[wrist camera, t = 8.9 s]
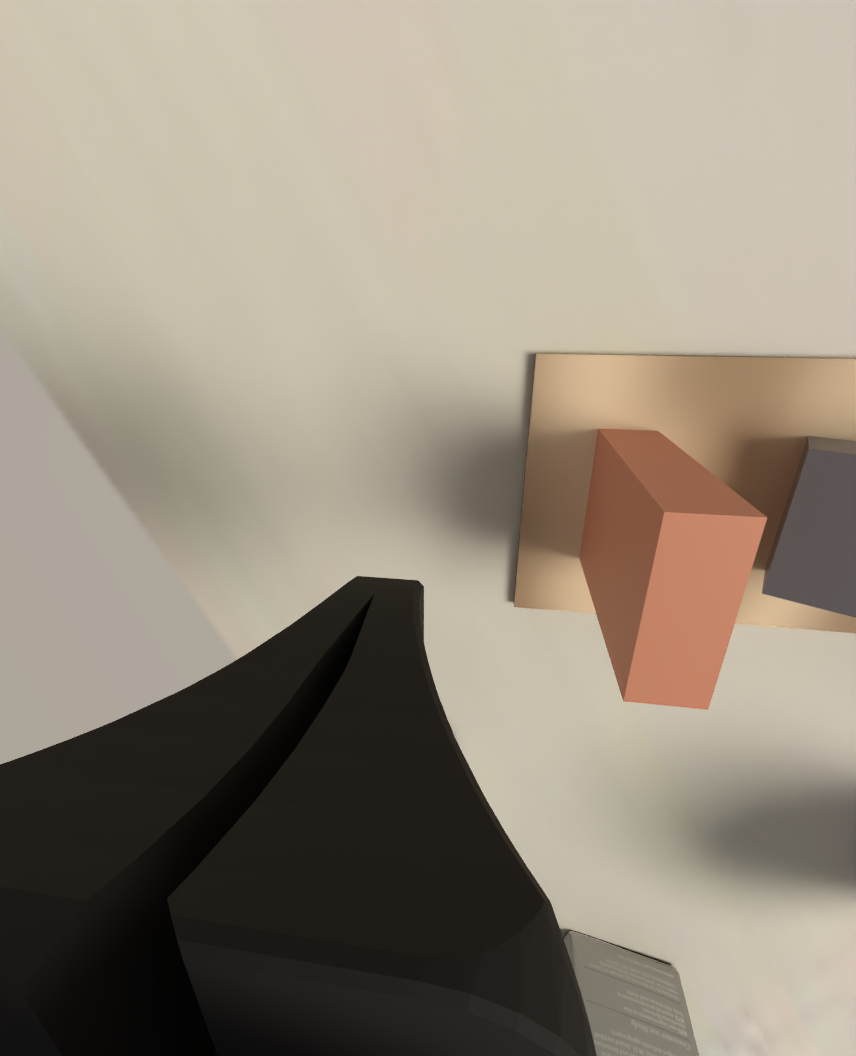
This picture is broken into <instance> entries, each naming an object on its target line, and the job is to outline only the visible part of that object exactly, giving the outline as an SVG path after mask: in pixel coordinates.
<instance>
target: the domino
mask: <svg viewBox="0 0 856 1056" xmlns="http://www.w3.org/2000/svg"><path fill="white" fill-rule="evenodd" d="M762 594H765V595H769V596H773V597H777V598H781V599H785V600H789V601H793V602H796V603H800V604H804V605H808V606H812V607H816V608H820V609H823V610H827V611H831V612H835V613H839V614H843V615H847V616H851V617H854V618H856V441H849V440H840V439H831V438H822V437H814V436H808V438H807V441H806V444H805V447H804V450H803V453H802V456H801V459H800V463H799V466H798V469H797V472H796V475H795V478H794V481H793V484H792V487H791V491H790V494H789V497H788V500H787V503H786V506H785V509H784V512H783V515H782V518H781V522H780V525H779V528H778V531H777V534H776V537H775V540H774V543H773V546H772V550H771V553H770V556H769V559H768V562H767V565H766V568H765V572H764V580H763V588H762Z"/></svg>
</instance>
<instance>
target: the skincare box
mask: <svg viewBox="0 0 856 1056" xmlns="http://www.w3.org/2000/svg"><path fill="white" fill-rule="evenodd" d="M563 940H564V942H565V945H566V948H567V951H568V954H569V957H570V960H571V963H572V966H573V969H574V972H575V975H576V978H577V981H578V985H579V988H580V991H581V994H582V998H583V1001H584V1005H585V1009H586V1012H587V1016H588V1019H589V1023H590V1028H591V1032H592V1036H593V1040H594V1045H595V1050H596V1055H597V1056H699V1053H698V1049H697V1045H696V1041H695V1037H694V1033H693V1029H692V1025H691V1021H690V1017H689V1013H688V1009H687V1005H686V1000H685V996H684V993H683V989H682V985H681V981H680V977H679V973H678V972H677V970H676V968H675V967H673V966H670V965H667V964H664V963H661V962H659V961H656V960H653V959H650V958H648V957H645V956H642V955H639V954H636V953H633V952H630V951H628V950H625V949H622V948H620V947H617V946H615V945H612V944H609V943H606V942H604V941H601V940H598V939H596V938H593V937H590V936H587V935H584V934H580V933H577V932H574V931H569V932H568V933H567V935H566V936H565V937H564V939H563Z"/></svg>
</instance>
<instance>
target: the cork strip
mask: <svg viewBox="0 0 856 1056" xmlns="http://www.w3.org/2000/svg"><path fill="white" fill-rule="evenodd" d="M598 429H620V430H648V431H659V432H660V433H662V434H663V435H664V436H665V437H667V438H668V439H669V440H670V441H672V442H673V443H674V444H675V445H677V446H678V447H679V448H680V449H682V450H683V451H684V452H685V453H687V454H688V455H689V456H691V457H692V458H693V459H694V460H696V461H697V462H698V463H699V464H701V465H702V466H703V467H704V468H706V469H707V470H708V471H709V472H711V473H712V474H713V475H714V476H716V477H717V478H718V479H720V480H721V481H722V482H723V483H725V484H726V485H727V486H728V487H730V488H731V489H732V490H733V491H735V492H736V493H737V494H738V495H740V496H741V497H742V498H743V499H745V500H746V501H747V502H748V503H750V504H751V505H752V506H754V507H755V508H756V509H757V510H759V511H760V512H761V513H762V514H764V515H765V516H766V517H767V521H766V524H765V527H764V530H763V534H762V537H761V540H760V543H759V546H758V550H757V553H756V556H755V559H754V563H753V566H752V569H751V572H750V576H749V579H748V582H747V585H746V588H745V592H744V595H743V598H742V601H741V605H740V608H739V611H738V614H737V618H736V621H735V624H743V625H756V626H769V627H782V628H795V629H808V630H821V631H834V632H847V633H856V618H854V617H851V616H847V615H843V614H839V613H835V612H831V611H827V610H823V609H820V608H816V607H812V606H808V605H804V604H800V603H796V602H793V601H789V600H785V599H781V598H777V597H773V596H769V595H765V594H762V588H763V580H764V572H765V568H766V565H767V562H768V559H769V556H770V553H771V550H772V546H773V543H774V540H775V537H776V534H777V531H778V528H779V525H780V522H781V518H782V515H783V512H784V509H785V506H786V503H787V500H788V497H789V494H790V491H791V487H792V484H793V481H794V478H795V475H796V472H797V469H798V466H799V463H800V459H801V456H802V453H803V450H804V447H805V444H806V441H807V438H808V436H814V437H822V438H831V439H840V440H849V441H856V358H802V357H740V356H678V355H615V354H553V353H536V358H535V369H534V380H533V392H532V403H531V414H530V426H529V437H528V448H527V460H526V471H525V482H524V494H523V505H522V516H521V528H520V539H519V551H518V562H517V573H516V585H515V596H514V607H522V608H535V609H548V610H561V611H574V612H587V613H596V611H595V608H594V604H593V601H592V598H591V595H590V592H589V588H588V585H587V582H586V579H585V575H584V572H583V569H582V566H581V562H580V559H579V557H580V550H581V543H582V537H583V530H584V523H585V516H586V510H587V503H588V496H589V489H590V482H591V476H592V469H593V462H594V455H595V448H596V442H597V435H598Z"/></svg>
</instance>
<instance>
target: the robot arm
mask: <svg viewBox="0 0 856 1056" xmlns="http://www.w3.org/2000/svg"><path fill="white" fill-rule="evenodd" d="M0 1056H597V1055H596V1050H595V1045H594V1040H593V1036H592V1032H591V1028H590V1023H589V1019H588V1016H587V1012H586V1009H585V1005H584V1001H583V998H582V994H581V991H580V988H579V985H578V981H577V978H576V975H575V972H574V969H573V966H572V963H571V960H570V957H569V954H568V951H567V948H566V945H565V942H564V940H563V937H562V934H561V931H560V928H559V925H558V923H557V920H556V917H555V914H554V911H553V908H552V905H551V903H550V901H549V899H548V898H547V896H546V894H545V893H544V891H543V890H542V888H541V887H540V885H539V884H538V882H537V881H536V879H535V878H534V876H533V875H532V873H531V872H530V870H529V869H528V867H527V866H526V864H525V863H524V861H523V860H522V858H521V857H520V855H519V853H518V852H517V850H516V849H515V847H514V845H513V844H512V842H511V841H510V839H509V838H508V836H507V834H506V833H505V831H504V829H503V828H502V826H501V824H500V822H499V821H498V819H497V817H496V816H495V814H494V812H493V810H492V809H491V807H490V805H489V804H488V802H487V800H486V798H485V797H484V795H483V793H482V791H481V789H480V787H479V785H478V783H477V781H476V779H475V777H474V775H473V773H472V771H471V769H470V767H469V765H468V763H467V761H466V759H465V757H464V755H463V753H462V751H461V749H460V748H459V745H458V743H457V741H456V736H455V734H454V732H453V731H452V729H451V727H450V725H449V722H448V720H447V717H446V715H445V712H444V709H443V707H442V704H441V702H440V699H439V696H438V693H437V690H436V687H435V684H434V681H433V677H432V674H431V670H430V667H429V663H428V659H427V655H426V651H425V646H424V586H423V585H422V584H421V583H420V582H419V581H417V580H403V579H390V578H376V577H362V576H357V577H355V578H354V579H352V580H351V581H349V582H348V583H347V584H345V585H344V586H343V587H341V588H340V589H339V590H337V591H336V592H335V593H333V594H332V595H331V596H330V597H328V598H327V599H326V600H324V601H323V602H322V603H320V604H319V605H318V606H316V607H315V608H313V609H312V610H311V611H309V612H308V613H307V614H305V615H304V616H303V617H301V618H300V619H298V620H297V621H296V622H294V623H293V624H292V625H290V626H289V627H287V628H286V629H284V630H283V631H281V632H280V633H278V634H276V635H275V636H273V637H272V638H270V639H269V640H267V641H266V642H264V643H263V644H261V645H260V646H258V647H257V648H255V649H254V650H252V651H251V652H249V653H248V654H246V655H244V656H243V657H241V658H239V659H238V660H236V661H234V662H233V663H231V664H229V665H228V666H226V667H224V668H222V669H221V670H219V671H217V672H215V673H213V674H211V675H210V676H208V677H206V678H204V679H202V680H200V681H198V682H196V683H195V684H193V685H191V686H189V687H187V688H185V689H183V690H181V691H179V692H177V693H175V694H173V695H171V696H168V697H167V698H164V699H162V700H160V701H157V702H155V703H153V704H151V705H149V706H147V707H144V708H142V709H140V710H138V711H136V712H134V713H131V714H129V715H127V716H125V717H123V718H121V719H119V720H116V721H114V722H112V723H109V724H107V725H104V726H102V727H99V728H97V729H94V730H92V731H89V732H87V733H84V734H82V735H79V736H77V737H74V738H72V739H69V740H67V741H64V742H62V743H59V744H56V745H53V746H51V747H48V748H46V749H43V750H40V751H37V752H35V753H32V754H29V755H26V756H24V757H21V758H18V759H15V760H12V761H10V762H7V763H4V764H1V765H0Z"/></svg>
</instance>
